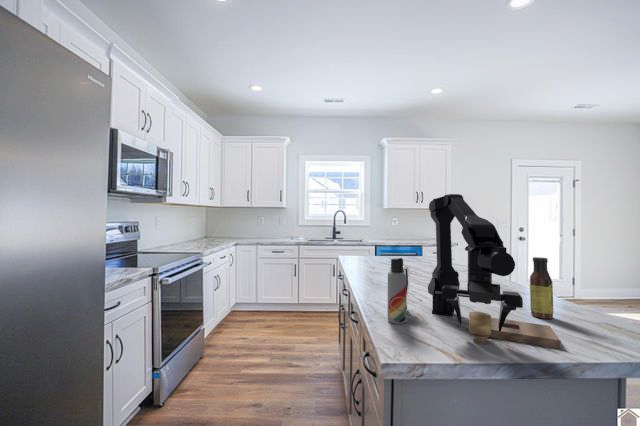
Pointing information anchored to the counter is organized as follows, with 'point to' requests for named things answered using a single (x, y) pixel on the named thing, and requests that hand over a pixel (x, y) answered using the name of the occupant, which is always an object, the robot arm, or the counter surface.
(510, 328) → the walnut board
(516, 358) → the counter surface
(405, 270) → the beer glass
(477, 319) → the oak peg
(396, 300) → the lotion bottle
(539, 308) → the sauce bottle
